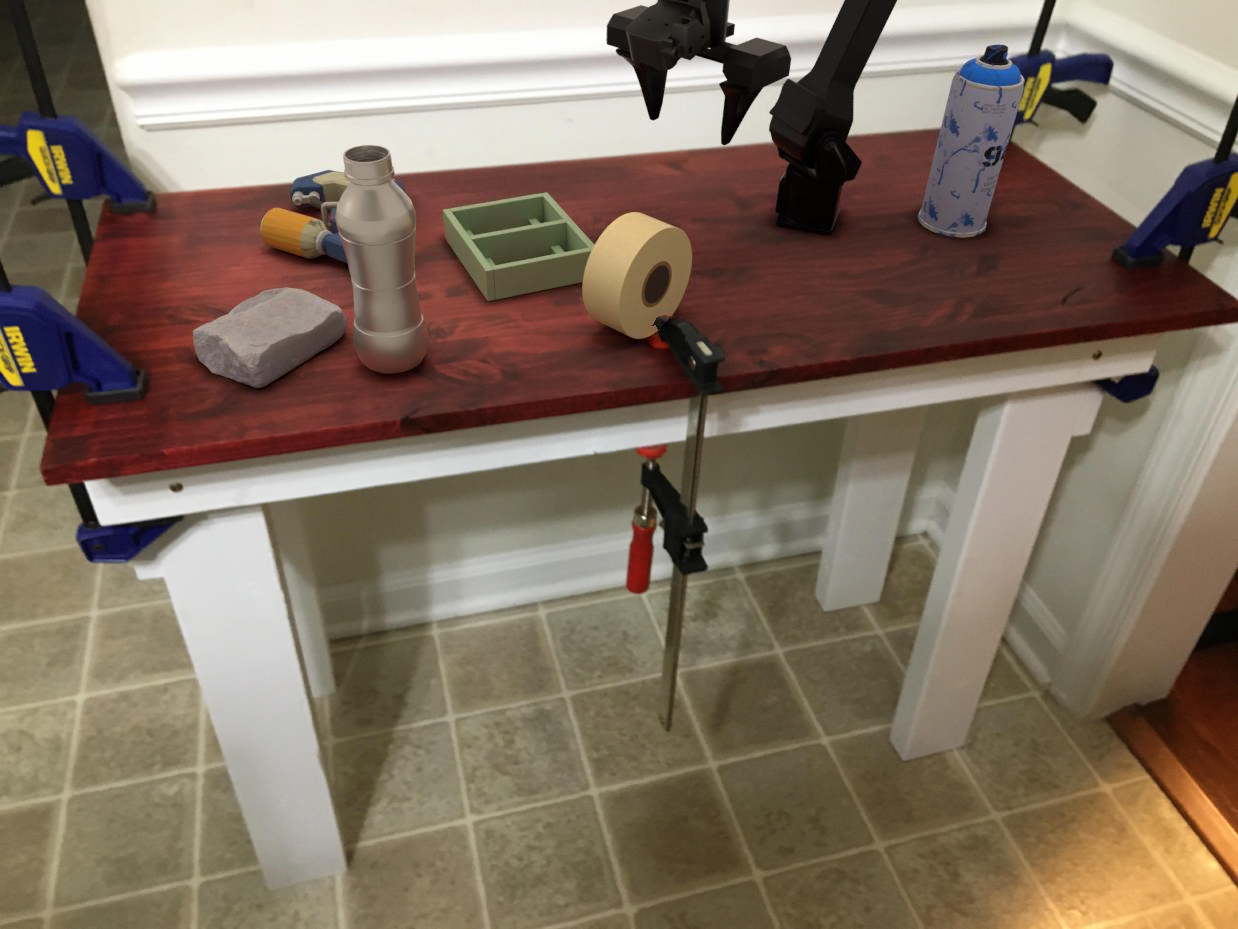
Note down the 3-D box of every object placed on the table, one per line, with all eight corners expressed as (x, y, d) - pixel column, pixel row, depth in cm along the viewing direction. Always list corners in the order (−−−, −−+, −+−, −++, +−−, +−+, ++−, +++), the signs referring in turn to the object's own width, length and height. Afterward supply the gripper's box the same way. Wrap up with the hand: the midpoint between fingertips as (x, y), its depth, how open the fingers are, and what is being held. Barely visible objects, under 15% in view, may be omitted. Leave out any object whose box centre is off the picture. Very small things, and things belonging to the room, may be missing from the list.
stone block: (191, 376, 93) (262, 394, 88) (173, 329, 91) (245, 345, 86) (288, 324, 101) (359, 338, 96) (274, 279, 99) (345, 291, 94)
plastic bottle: (361, 344, 95) (328, 137, 82) (433, 342, 96) (412, 137, 83) (353, 383, 90) (316, 170, 77) (429, 382, 91) (406, 170, 78)
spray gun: (255, 281, 103) (405, 278, 105) (247, 243, 100) (401, 240, 102) (279, 196, 119) (408, 195, 121) (273, 162, 116) (405, 160, 118)
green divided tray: (547, 220, 116) (547, 191, 114) (598, 279, 106) (598, 249, 104) (444, 238, 112) (442, 209, 109) (487, 301, 102) (485, 270, 100)
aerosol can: (960, 244, 115) (1009, 64, 102) (904, 218, 119) (944, 43, 106) (999, 224, 119) (1051, 49, 106) (943, 200, 123) (986, 30, 110)
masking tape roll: (630, 325, 103) (669, 221, 100) (666, 343, 101) (706, 237, 98) (566, 316, 94) (607, 201, 91) (604, 335, 91) (647, 218, 89)
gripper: (569, -38, 93) (569, 128, 104) (733, 6, 85) (716, 182, 95) (645, -58, 100) (638, 99, 110) (805, -19, 91) (781, 148, 101)
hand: (689, 131), depth 104 cm, fingers open, 9 cm apart
